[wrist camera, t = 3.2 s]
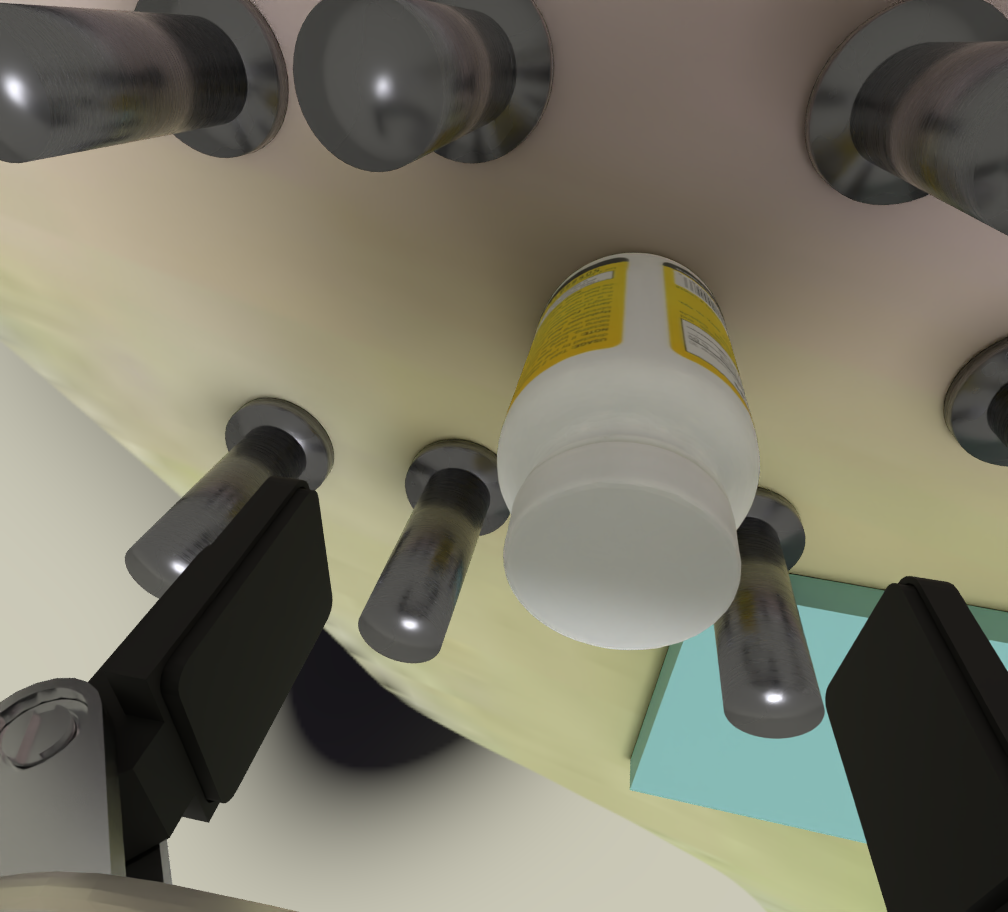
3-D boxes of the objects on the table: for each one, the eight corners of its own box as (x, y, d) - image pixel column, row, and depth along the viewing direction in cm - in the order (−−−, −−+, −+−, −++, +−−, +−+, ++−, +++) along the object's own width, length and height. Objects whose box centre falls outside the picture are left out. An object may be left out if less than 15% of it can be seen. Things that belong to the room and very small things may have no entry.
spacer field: (121, -55, 15) (-203, -116, 9) (1388, 22, 12) (2102, 2, 6) (247, 487, 25) (127, 620, 19) (955, 613, 21) (1068, 820, 16)
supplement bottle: (529, 401, 20) (451, 639, 12) (553, 233, 17) (470, 405, 9) (694, 432, 19) (727, 703, 11) (751, 265, 16) (853, 478, 8)
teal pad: (699, 557, 22) (702, 587, 21) (1121, 632, 20) (1151, 669, 19) (630, 759, 30) (629, 789, 29) (929, 825, 28) (941, 860, 27)
